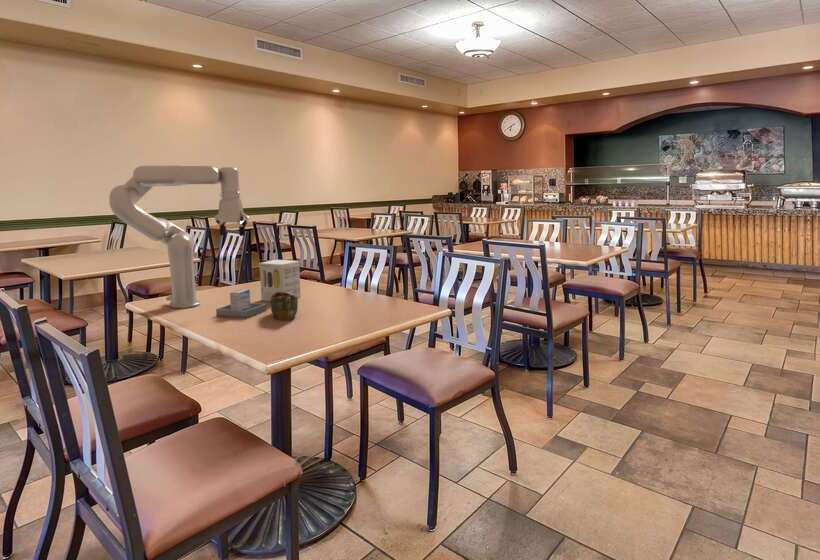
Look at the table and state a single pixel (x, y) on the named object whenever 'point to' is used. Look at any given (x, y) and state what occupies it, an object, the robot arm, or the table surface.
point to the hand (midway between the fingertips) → (232, 235)
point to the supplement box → (279, 278)
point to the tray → (249, 313)
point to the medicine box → (240, 300)
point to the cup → (284, 305)
